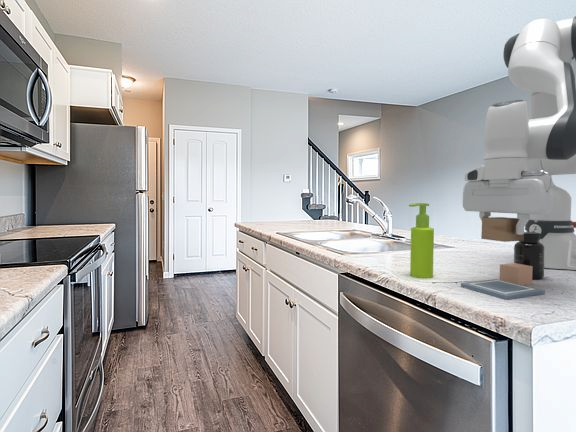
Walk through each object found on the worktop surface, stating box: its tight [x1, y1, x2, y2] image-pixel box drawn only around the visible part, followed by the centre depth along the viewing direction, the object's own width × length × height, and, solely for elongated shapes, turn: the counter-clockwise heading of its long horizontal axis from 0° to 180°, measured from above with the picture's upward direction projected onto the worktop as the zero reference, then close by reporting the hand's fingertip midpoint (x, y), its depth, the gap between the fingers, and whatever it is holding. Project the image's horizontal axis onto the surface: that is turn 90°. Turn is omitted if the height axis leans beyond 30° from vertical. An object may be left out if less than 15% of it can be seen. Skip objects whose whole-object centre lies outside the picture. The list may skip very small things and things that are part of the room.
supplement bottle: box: [513, 231, 545, 280], centre depth 98 cm, size 7×7×12 cm
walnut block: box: [480, 216, 524, 243], centre depth 84 cm, size 6×6×5 cm
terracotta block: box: [499, 262, 533, 286], centre depth 92 cm, size 5×5×4 cm
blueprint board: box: [460, 278, 546, 301], centre depth 85 cm, size 12×12×1 cm
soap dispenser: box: [408, 202, 435, 279], centre depth 99 cm, size 6×7×20 cm
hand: (502, 232), depth 84 cm, fingers closed on walnut block, 6 cm apart
